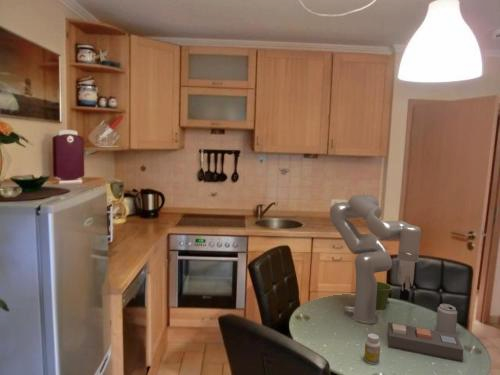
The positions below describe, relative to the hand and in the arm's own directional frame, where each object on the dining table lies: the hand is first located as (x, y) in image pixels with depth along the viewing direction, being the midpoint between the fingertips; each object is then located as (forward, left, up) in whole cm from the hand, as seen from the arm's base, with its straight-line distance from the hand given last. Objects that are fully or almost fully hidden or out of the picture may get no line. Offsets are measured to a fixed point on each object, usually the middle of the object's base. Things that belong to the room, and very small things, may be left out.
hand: (404, 298), depth 142 cm
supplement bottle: (-11, -18, -19) cm, 29 cm away
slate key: (+17, 0, -18) cm, 24 cm away
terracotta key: (+8, 0, -16) cm, 18 cm away
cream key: (-1, 0, -16) cm, 16 cm away
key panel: (+8, 0, -19) cm, 20 cm away
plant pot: (-9, +33, -19) cm, 39 cm away
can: (+19, +17, -19) cm, 31 cm away
